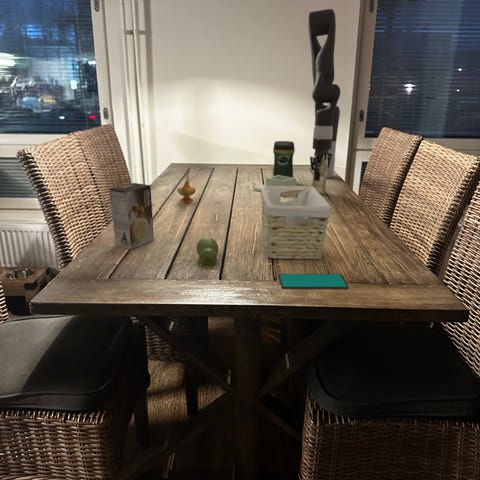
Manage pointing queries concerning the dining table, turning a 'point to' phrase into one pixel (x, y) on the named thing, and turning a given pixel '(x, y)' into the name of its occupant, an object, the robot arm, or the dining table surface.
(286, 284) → the smartphone
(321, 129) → the robot arm
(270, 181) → the stand
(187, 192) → the magic lamp
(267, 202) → the storage basket
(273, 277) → the dining table surface
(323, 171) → the beige long rectangular block
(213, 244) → the green rounded piece
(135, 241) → the coffee box
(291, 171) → the coffee jar
